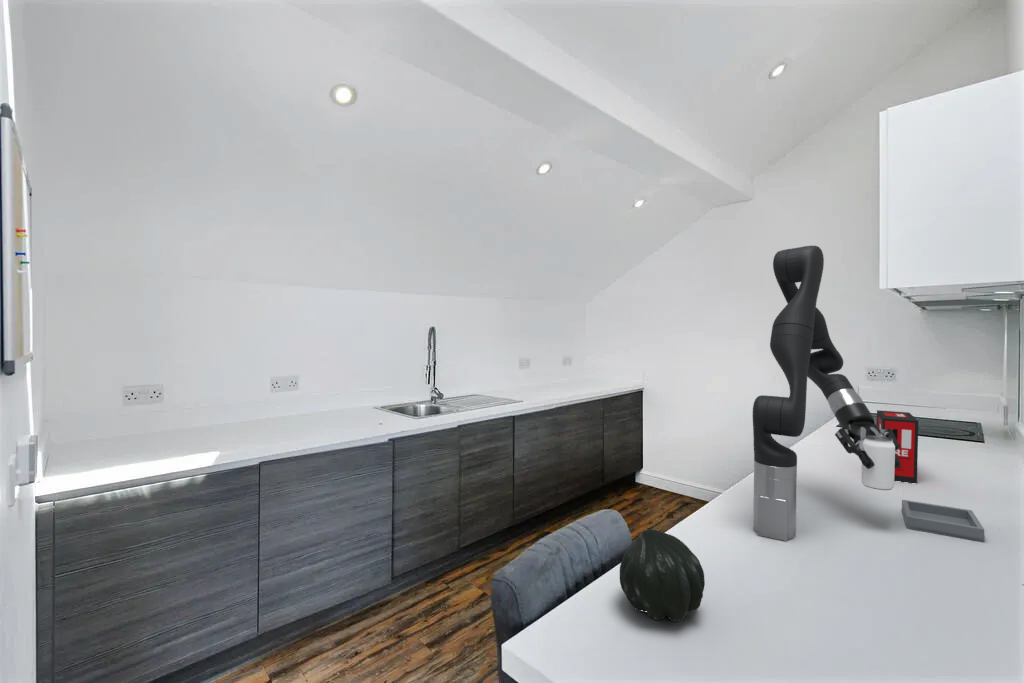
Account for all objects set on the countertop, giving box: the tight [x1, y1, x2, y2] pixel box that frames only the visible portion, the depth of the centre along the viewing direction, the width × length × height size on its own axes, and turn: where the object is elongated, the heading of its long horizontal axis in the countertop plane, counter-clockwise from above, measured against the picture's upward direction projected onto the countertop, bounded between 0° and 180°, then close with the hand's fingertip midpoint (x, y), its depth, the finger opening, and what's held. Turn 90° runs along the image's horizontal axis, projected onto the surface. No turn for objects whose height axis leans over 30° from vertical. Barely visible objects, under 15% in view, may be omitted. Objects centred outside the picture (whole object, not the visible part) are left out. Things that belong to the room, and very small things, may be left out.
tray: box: [901, 499, 985, 543], centre depth 124 cm, size 14×14×3 cm
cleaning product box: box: [876, 409, 919, 484], centre depth 164 cm, size 16×9×20 cm, turn 149°
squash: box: [619, 528, 706, 622], centre depth 89 cm, size 14×15×15 cm
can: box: [861, 436, 895, 491], centre depth 122 cm, size 6×6×12 cm
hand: (884, 466), depth 120 cm, fingers closed on can, 6 cm apart
